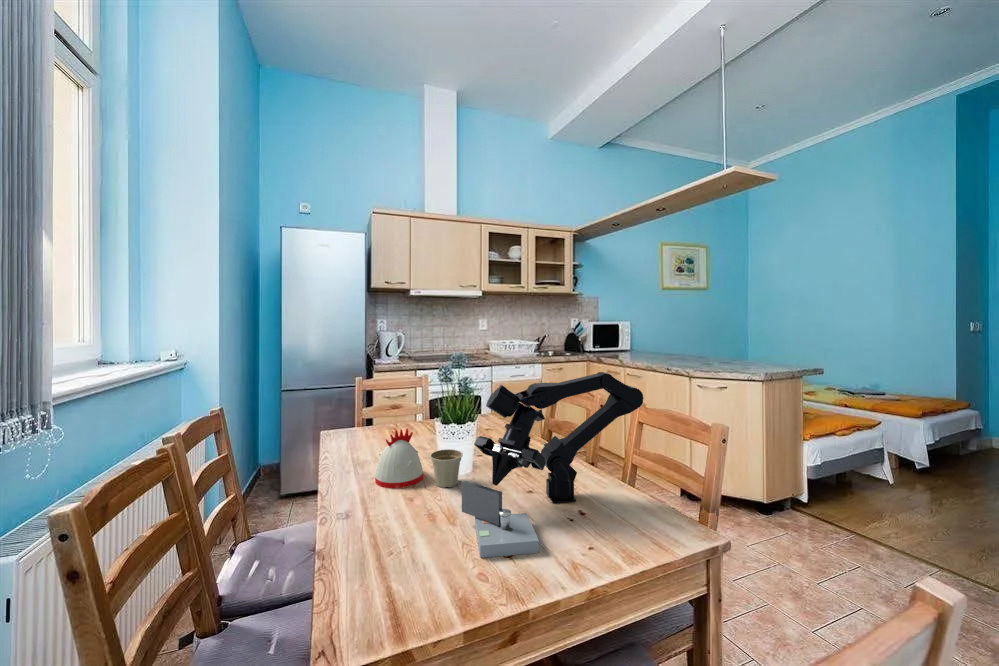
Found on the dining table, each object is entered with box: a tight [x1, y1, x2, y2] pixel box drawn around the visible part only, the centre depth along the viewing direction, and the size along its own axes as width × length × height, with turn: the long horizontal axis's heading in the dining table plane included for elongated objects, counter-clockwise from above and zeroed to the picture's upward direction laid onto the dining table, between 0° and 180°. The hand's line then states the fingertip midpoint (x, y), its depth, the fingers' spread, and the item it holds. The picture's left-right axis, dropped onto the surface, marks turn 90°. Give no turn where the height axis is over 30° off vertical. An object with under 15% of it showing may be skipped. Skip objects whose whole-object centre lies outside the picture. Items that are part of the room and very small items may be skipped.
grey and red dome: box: [374, 428, 424, 489], centre depth 121 cm, size 14×14×15 cm
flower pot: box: [429, 448, 464, 488], centre depth 117 cm, size 9×9×9 cm
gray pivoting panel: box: [461, 480, 512, 529], centre depth 91 cm, size 13×3×7 cm, turn 53°
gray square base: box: [474, 512, 540, 559], centre depth 87 cm, size 12×12×3 cm
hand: (494, 484), depth 96 cm, fingers closed
